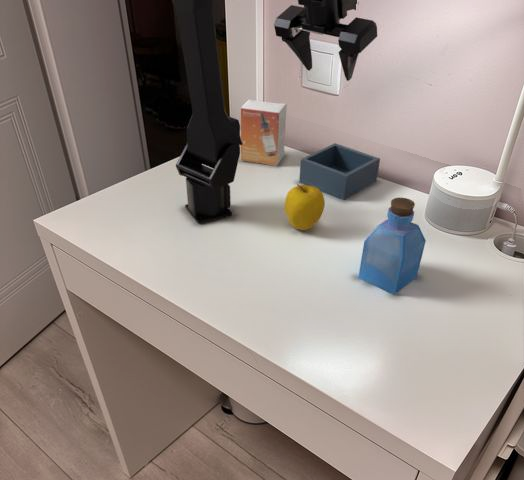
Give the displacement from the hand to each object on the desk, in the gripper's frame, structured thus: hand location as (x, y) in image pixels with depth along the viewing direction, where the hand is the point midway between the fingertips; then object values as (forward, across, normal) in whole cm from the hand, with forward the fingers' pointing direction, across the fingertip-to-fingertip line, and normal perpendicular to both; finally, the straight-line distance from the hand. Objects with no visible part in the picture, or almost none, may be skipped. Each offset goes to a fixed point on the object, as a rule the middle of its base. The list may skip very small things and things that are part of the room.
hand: (329, 74), depth 101 cm
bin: (+12, -10, +12) cm, 20 cm away
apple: (+6, -16, +30) cm, 34 cm away
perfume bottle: (+5, -34, +32) cm, 47 cm away
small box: (+12, +8, +14) cm, 20 cm away
